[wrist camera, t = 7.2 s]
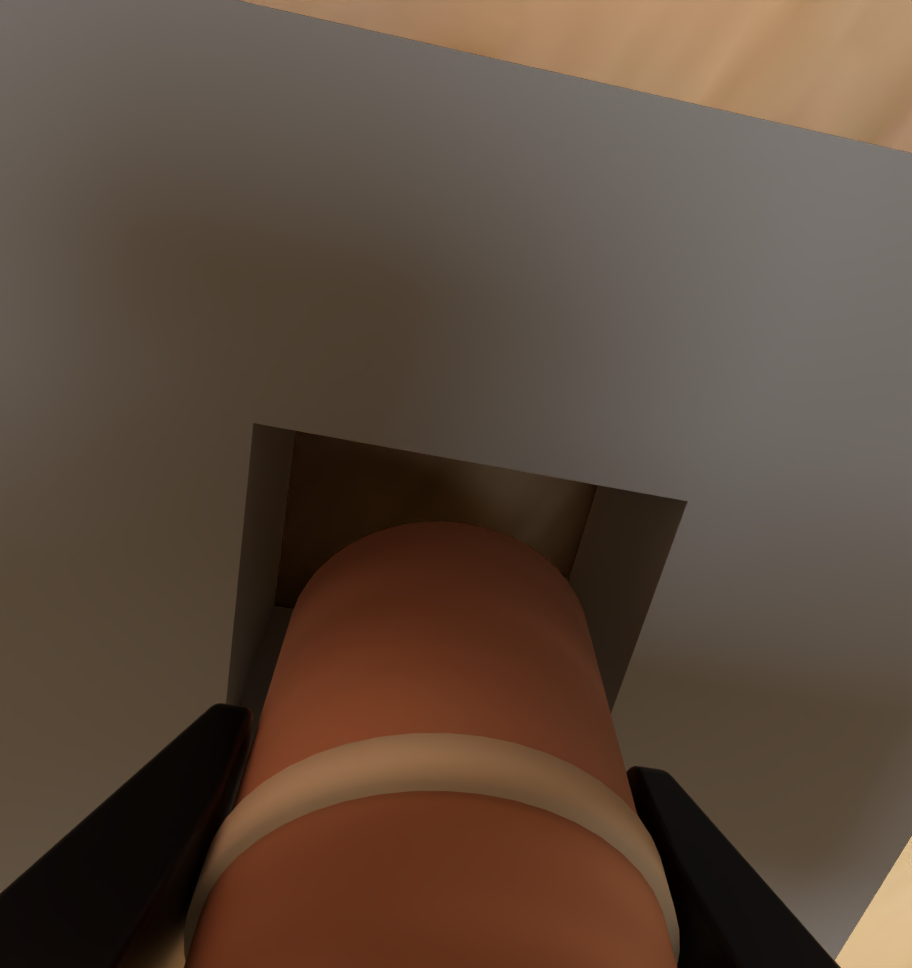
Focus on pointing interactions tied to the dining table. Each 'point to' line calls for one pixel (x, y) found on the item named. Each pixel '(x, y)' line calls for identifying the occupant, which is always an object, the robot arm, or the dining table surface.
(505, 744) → the peg
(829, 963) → the robot arm
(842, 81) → the dining table surface
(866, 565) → the hole block
